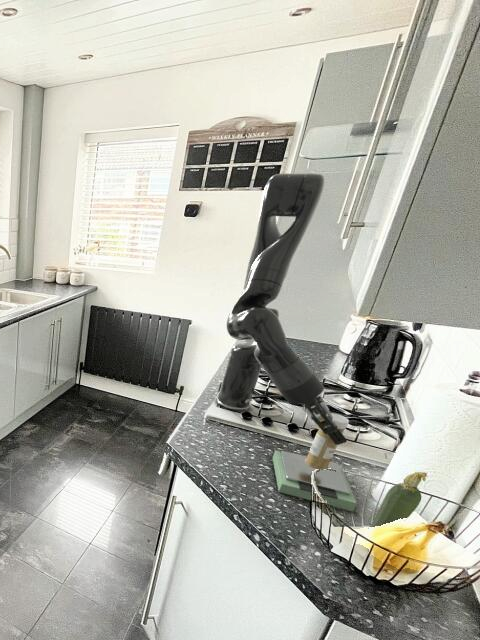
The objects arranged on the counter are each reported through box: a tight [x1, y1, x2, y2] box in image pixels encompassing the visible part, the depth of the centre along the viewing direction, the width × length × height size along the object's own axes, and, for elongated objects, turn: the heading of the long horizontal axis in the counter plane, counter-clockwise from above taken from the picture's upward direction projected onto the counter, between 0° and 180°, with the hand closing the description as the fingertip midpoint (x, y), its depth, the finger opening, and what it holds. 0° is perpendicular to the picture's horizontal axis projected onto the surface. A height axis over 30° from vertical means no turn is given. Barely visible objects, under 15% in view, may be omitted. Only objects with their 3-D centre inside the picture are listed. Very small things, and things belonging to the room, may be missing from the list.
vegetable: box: [368, 471, 429, 528], centre depth 80 cm, size 4×4×20 cm
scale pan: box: [279, 450, 350, 496], centre depth 104 cm, size 13×12×1 cm
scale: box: [272, 450, 358, 512], centre depth 103 cm, size 16×14×3 cm
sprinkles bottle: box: [305, 412, 350, 469], centre depth 99 cm, size 5×5×14 cm
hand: (339, 437), depth 97 cm, fingers closed on sprinkles bottle, 4 cm apart
